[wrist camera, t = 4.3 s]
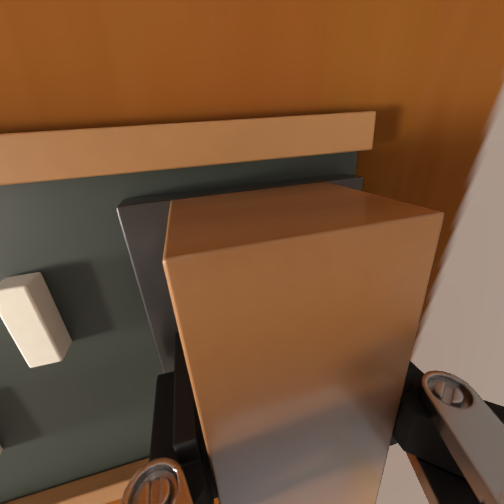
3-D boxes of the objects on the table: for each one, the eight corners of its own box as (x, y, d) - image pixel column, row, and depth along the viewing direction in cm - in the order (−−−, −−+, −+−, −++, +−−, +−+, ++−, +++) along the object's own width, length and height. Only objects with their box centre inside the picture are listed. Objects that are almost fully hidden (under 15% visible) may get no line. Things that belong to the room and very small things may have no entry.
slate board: (-1042, 202, 4) (-1498, 224, 3) (353, 114, 10) (377, 110, 8) (-232, 582, 11) (-282, 636, 10) (330, 403, 16) (342, 423, 15)
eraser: (122, 198, 8) (39, 279, 3) (345, 172, 10) (511, 201, 5) (187, 433, 13) (192, 608, 8) (329, 390, 15) (404, 513, 10)
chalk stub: (5, 276, 8) (-16, 292, 7) (41, 270, 8) (24, 285, 7) (43, 348, 9) (29, 369, 8) (73, 341, 10) (62, 361, 9)
